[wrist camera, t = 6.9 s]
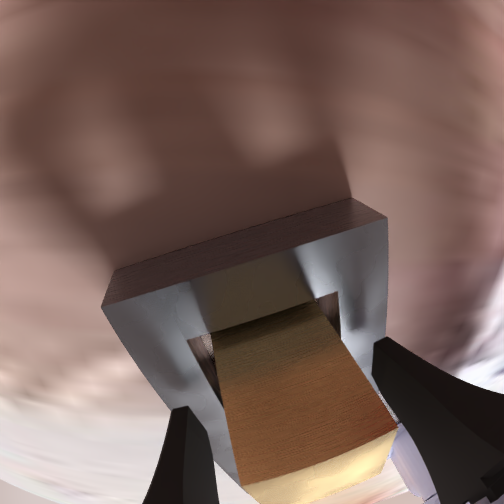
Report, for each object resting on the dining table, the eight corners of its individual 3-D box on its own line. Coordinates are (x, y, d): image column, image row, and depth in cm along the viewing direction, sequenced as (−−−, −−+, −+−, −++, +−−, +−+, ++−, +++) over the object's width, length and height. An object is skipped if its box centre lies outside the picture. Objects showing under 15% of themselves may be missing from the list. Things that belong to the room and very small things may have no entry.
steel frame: (355, 430, 21) (367, 452, 19) (241, 469, 20) (247, 493, 18) (352, 197, 12) (387, 217, 10) (114, 271, 11) (100, 307, 9)
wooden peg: (307, 339, 15) (380, 473, 8) (231, 364, 14) (271, 513, 7) (296, 273, 13) (398, 427, 6) (205, 303, 12) (241, 486, 5)
